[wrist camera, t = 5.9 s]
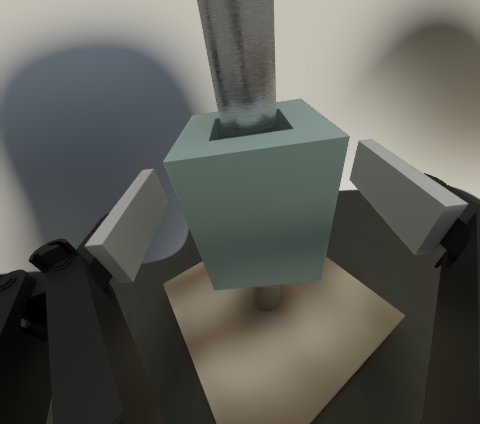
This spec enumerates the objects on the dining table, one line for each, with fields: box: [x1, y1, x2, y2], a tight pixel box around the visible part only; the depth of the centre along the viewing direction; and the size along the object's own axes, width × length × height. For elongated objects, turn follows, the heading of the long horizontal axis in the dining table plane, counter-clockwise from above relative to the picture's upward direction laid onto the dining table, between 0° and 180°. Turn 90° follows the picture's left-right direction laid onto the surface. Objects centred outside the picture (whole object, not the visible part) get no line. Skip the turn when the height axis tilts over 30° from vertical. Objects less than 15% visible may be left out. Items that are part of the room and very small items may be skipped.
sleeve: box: [163, 99, 349, 290], centre depth 11 cm, size 6×6×8 cm
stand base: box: [163, 257, 405, 424], centre depth 19 cm, size 15×15×2 cm
